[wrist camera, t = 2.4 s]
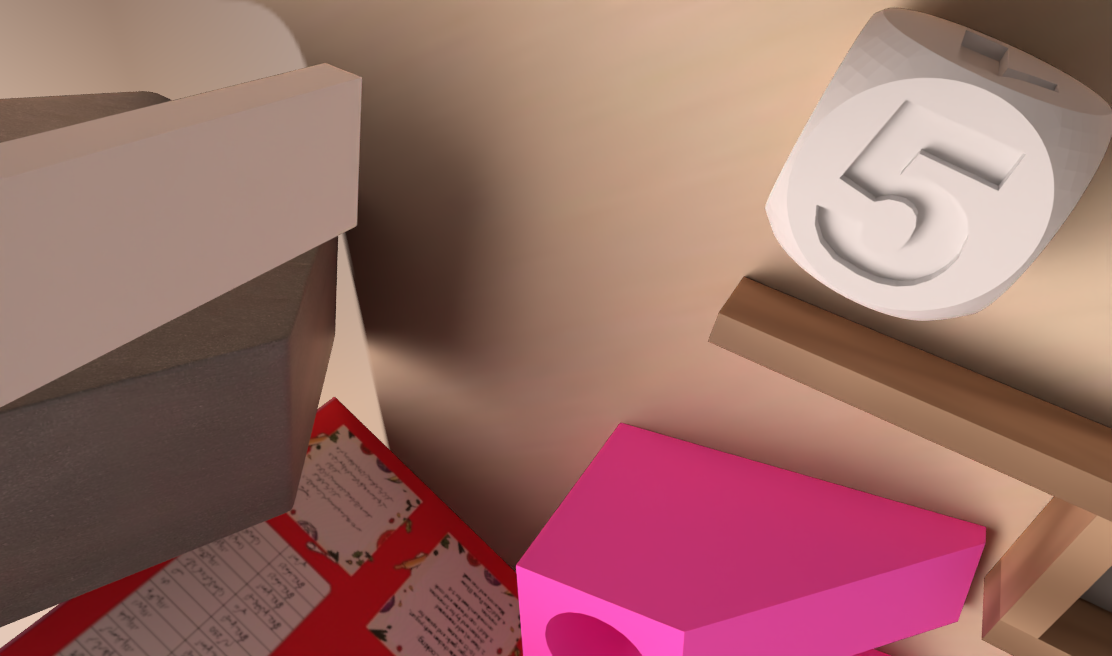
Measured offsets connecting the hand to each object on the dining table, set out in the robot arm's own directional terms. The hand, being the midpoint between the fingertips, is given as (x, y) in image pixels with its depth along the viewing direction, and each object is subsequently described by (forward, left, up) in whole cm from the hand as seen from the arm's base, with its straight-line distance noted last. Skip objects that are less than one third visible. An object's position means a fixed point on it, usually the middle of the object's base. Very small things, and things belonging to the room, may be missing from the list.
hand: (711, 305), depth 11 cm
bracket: (+16, +4, -11) cm, 20 cm away
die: (0, +2, -11) cm, 11 cm away
